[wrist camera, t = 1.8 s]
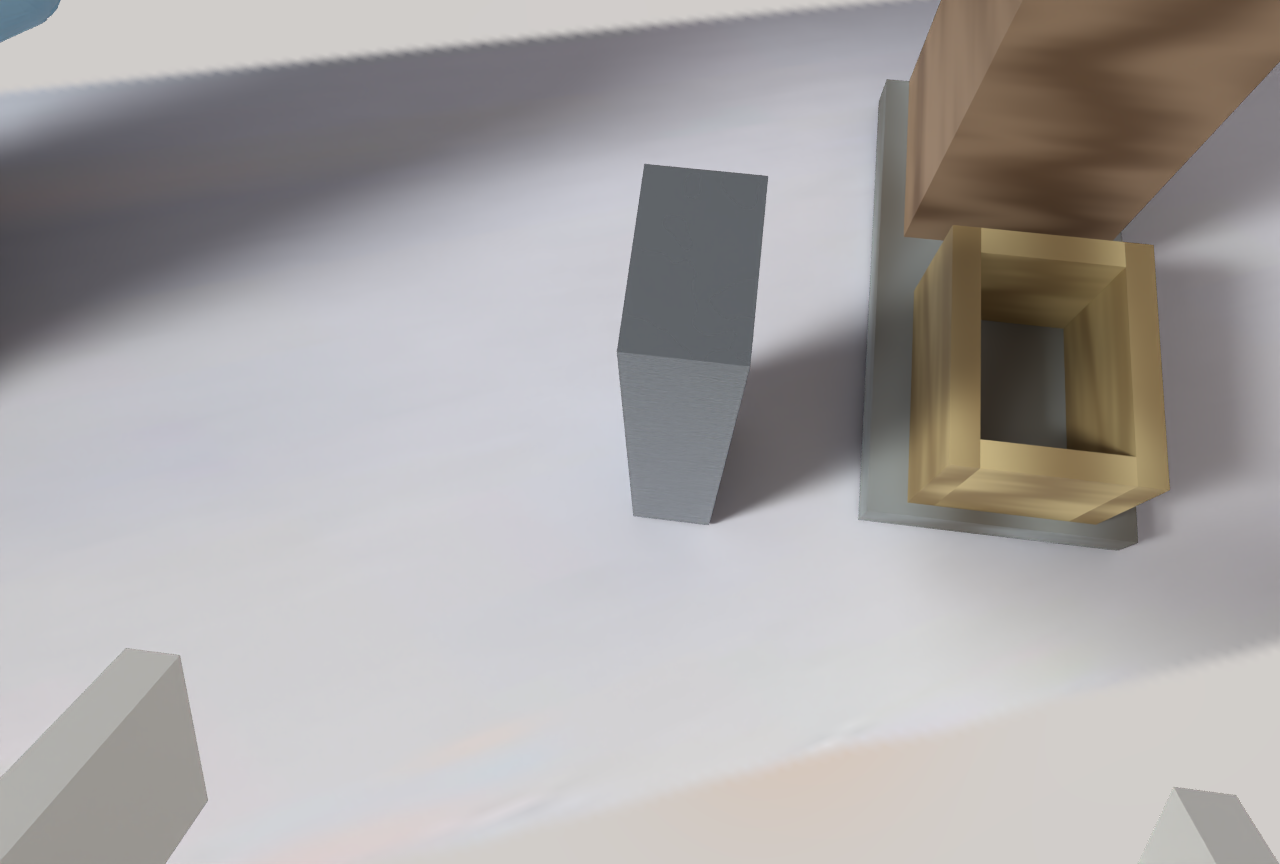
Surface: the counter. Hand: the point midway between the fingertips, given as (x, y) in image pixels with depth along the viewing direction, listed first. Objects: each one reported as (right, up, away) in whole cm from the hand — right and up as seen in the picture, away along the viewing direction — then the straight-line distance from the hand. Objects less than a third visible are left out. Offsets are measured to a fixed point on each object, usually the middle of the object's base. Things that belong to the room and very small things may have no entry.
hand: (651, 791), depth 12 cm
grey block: (+1, +4, +24) cm, 24 cm away
